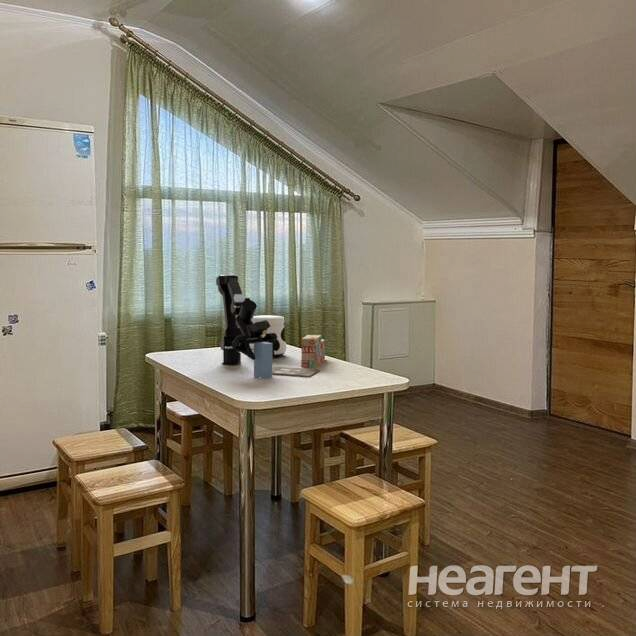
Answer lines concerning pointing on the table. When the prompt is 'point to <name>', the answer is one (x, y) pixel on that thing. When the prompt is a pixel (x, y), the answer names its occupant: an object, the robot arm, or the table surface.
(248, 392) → the table surface
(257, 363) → the blue pillar
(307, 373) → the letter board
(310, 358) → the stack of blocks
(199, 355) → the table surface
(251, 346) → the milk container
